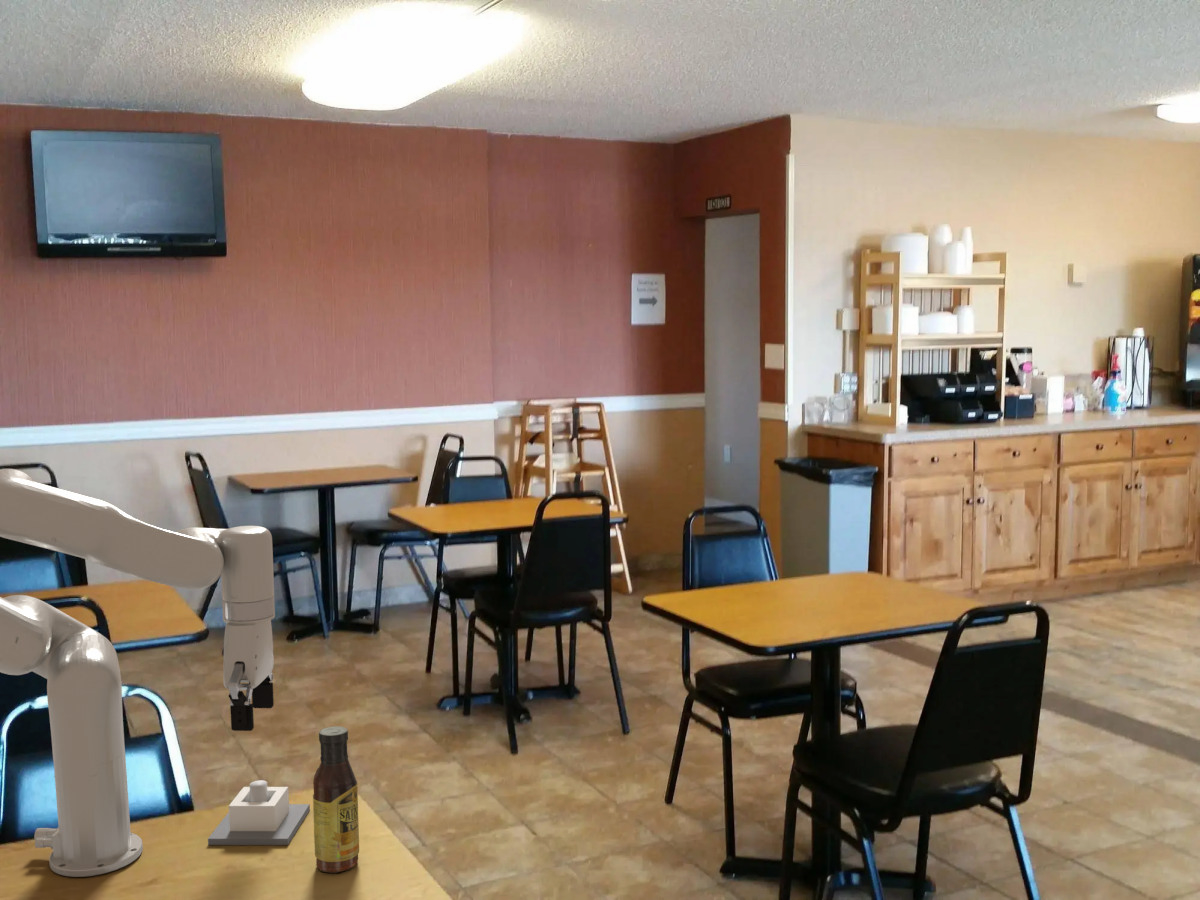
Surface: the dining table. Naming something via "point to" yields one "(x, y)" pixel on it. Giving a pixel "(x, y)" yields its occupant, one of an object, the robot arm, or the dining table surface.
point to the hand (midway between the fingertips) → (253, 718)
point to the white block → (259, 810)
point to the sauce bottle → (335, 804)
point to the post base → (277, 837)
